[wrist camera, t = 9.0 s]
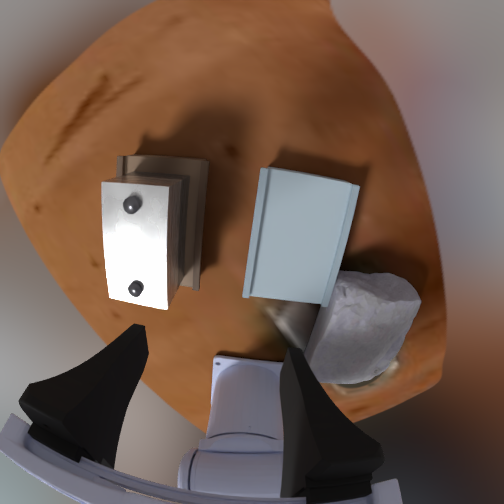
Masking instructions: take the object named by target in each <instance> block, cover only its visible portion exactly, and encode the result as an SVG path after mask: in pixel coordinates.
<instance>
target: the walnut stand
mask: <svg viewBox="0 0 504 504" xmlns="http://www.w3.org/2000/svg"><path fill="white" fill-rule="evenodd" d="M209 163H210V161H207V159H202V158H190V157H176V156H160V155H136V154H134V155H128V156H117V174H116V177H118V176H121V175H124V174H127V173H130V172H134V171H136V172H152V173H165V174H177V175H188V176H190V183H189V195H188V208H187V223H186V242H185V267H184V278H183V280H182V282H181V284H180V285H181V286H188V287H193V289H192V290H196V291H199V289H200V270H201V254H202V239H203V226H204V214H205V203H206V192H207V182H208V172H209Z"/></svg>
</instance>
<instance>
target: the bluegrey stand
mask: <svg viewBox="0 0 504 504" xmlns="http://www.w3.org/2000/svg"><path fill="white" fill-rule="evenodd" d="M359 188H360V186H358V185H355V184H351V183H349V182H347V181H345V180H340V179H335V178H331V177H326V176H321V175H315V174H310V173H305V172H299V171H293V170H287V169H281V168H275V167H268V168H262V167H261V170H260V177H259V184H258V190H257V197H256V204H255V211H254V218H253V225H252V232H251V239H250V246H249V253H248V260H247V267H246V274H245V281H244V288H243V295H242V297H243V298H249V296H256V297H264V298H272V299H280V300H289V301H298V302H307V303H316V304H321V306H322V307H328V304H329V301H330V298H331V294H332V291H333V288H334V285H335V281H336V278H337V275H338V271H339V268H340V264H341V261H342V257H343V254H344V250H345V246H346V243H347V239H348V235H349V231H350V227H351V223H352V219H353V215H354V211H355V206H356V202H357V198H358V193H359Z"/></svg>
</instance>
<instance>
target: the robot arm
mask: <svg viewBox="0 0 504 504" xmlns="http://www.w3.org/2000/svg"><path fill="white" fill-rule="evenodd" d="M148 355H149V351H148V345H147V338H146V331H145V326H143V325H138V324H133V325H132V326H130V327H129V328H128V329H127V330H126V331H124V332H123V333H122V334H121V335H120V336H119V337H117V338H116V339H115V340H114V341H113V342H111V343H110V344H109V345H108V346H107V347H105V348H104V349H103V350H101V351H100V352H99V353H97V354H96V355H94V356H93V357H92V358H90V359H89V360H87V361H85V362H84V363H82V364H80V365H79V366H77V367H75V368H73V369H71V370H69V371H67V372H65V373H62V374H60V375H58V376H55V377H52V378H49V379H46V380H43V381H39V382H35V383H31V384H29V385H28V387H27V388H26V390H25V391H24V393H23V395H22V396H21V398H20V399H19V404H20V406H21V408H22V410H23V411H24V412H25V413H26V415H27V416H28V417H29V418H30V419H31V421H32V422H33V423H32V425H31V426H30V425H29V424H28V423H26V422H25V421H23V420H22V419H20V418H19V417H17V416H16V415H14V414H13V413H12V414H11V415H10V417H9V419H8V420H7V422H6V424H5V426H4V427H3V429H2V431H1V433H0V451H1V452H2V453H3V454H4V455H6V456H7V457H8V458H9V459H11V460H12V461H13V462H14V463H16V464H17V465H18V466H19V467H21V468H22V469H24V470H25V471H27V472H28V473H30V474H31V475H33V476H34V477H36V478H37V479H39V480H40V481H42V482H43V483H45V484H47V485H48V486H50V487H52V488H53V489H55V490H57V491H59V492H60V493H62V494H64V495H66V496H68V497H70V498H72V499H74V500H75V501H77V502H80V503H82V504H175V503H170V502H166V501H162V500H157V499H154V498H150V497H147V496H143V495H139V494H136V493H130V492H126V490H125V489H124V488H126V489H129V490H133V491H136V492H139V493H143V494H146V495H149V496H153V497H157V498H161V499H165V500H169V501H174V502H178V503H183V504H403V503H402V498H401V494H400V489H399V485H398V481H397V479H392V480H388V481H384V482H379V483H376V484H373V485H371V484H370V480H372V472H374V471H375V470H376V469H378V468H379V467H380V466H381V465H382V464H383V463H384V461H385V457H384V453H383V450H382V447H381V445H380V443H378V442H377V441H376V440H374V439H372V438H371V437H369V436H368V435H367V434H365V433H364V432H363V431H361V430H360V429H359V428H358V427H357V426H355V425H354V424H353V423H352V422H351V421H350V420H349V419H348V418H347V417H346V416H345V415H344V414H343V413H342V412H341V411H340V410H339V409H338V407H337V406H336V405H335V404H334V403H333V401H332V400H331V399H330V398H329V396H328V395H327V393H326V392H325V391H324V389H323V388H322V386H321V385H320V383H319V381H318V380H317V378H316V376H315V375H314V373H313V371H312V370H311V368H310V366H309V364H308V362H307V360H306V358H305V356H304V354H303V352H302V350H301V349H300V348H289V347H288V349H287V353H286V356H285V359H284V362H271V361H261V360H252V359H244V358H236V357H229V356H222V355H216V356H214V360H213V376H212V392H211V411H210V417H209V423H208V429H207V435H206V439H200V442H199V448H191V449H190V450H189V451H188V452H187V453H186V454H185V455H184V456H183V458H182V460H181V463H180V466H179V471H178V488H176V487H171V486H167V485H163V484H159V483H155V482H151V481H147V480H144V479H141V478H137V477H134V476H131V475H128V474H125V473H122V472H119V471H116V470H114V464H115V458H116V451H117V446H118V441H119V436H120V432H121V428H122V424H123V421H124V417H125V414H126V410H127V407H128V405H129V402H130V400H131V397H132V395H133V393H134V391H135V389H136V386H137V384H138V382H139V380H140V378H141V375H142V373H143V371H144V368H145V365H146V362H147V358H148ZM217 362H219V363H217ZM283 432H284V437H283ZM117 485H118V486H117ZM120 486H121V487H120ZM122 487H123V488H122Z"/></svg>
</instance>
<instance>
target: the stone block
mask: <svg viewBox="0 0 504 504" xmlns="http://www.w3.org/2000/svg"><path fill="white" fill-rule="evenodd" d="M420 304H421V300H420V297H419V296H418V293H417V291H416V290H415V289H414V287H413V286H412V285H411V284H410V283H409V282H408V281H407V280H405V279H404V278H400V277H398V276H396V275H394V274H391V273H373V274H365V273H361V272H357V271H338V275H337V278H336V281H335V285H334V288H333V291H332V294H331V298H330V301H329V304H328V307H322V306H321V307H320V310H319V313H318V316H317V318H316V322H315V325H314V328H313V330H312V333H311V336H310V339H309V342H308V345H307V347H306V350H305V352H304V356H305V358H306V360H307V362H308V364H309V366H310V368H311V370H312V371H313V373H314V375H315V376H316V378H317V380H318V381H319V382H322V383H338V384H342V383H343V384H348V383H349V384H351V383H353V384H354V383H358V382H362V381H366V380H370V379H372V378H373V377H374V376H376V375H379V374H380V373H382V372H383V371H384V370H386V369H387V368H388V366H389V364H390V361H391V360H392V359H393V358H394V357H395V356H396V354H397V353H398V351H399V350H400V348H401V346H402V344H403V341H404V339H405V335H406V334H407V332H408V330H409V329H410V327H411V325H412V322H413V318H414V317H415V316H416V314H417V312H418V309H419V307H420Z"/></svg>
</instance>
